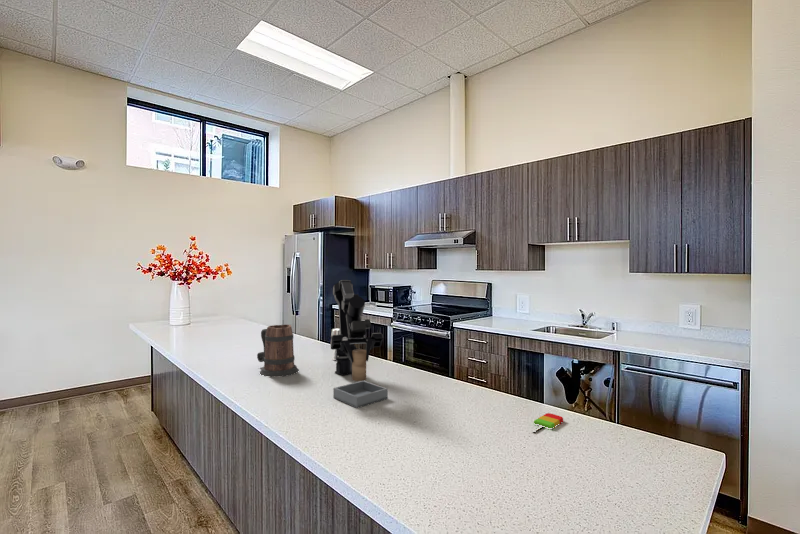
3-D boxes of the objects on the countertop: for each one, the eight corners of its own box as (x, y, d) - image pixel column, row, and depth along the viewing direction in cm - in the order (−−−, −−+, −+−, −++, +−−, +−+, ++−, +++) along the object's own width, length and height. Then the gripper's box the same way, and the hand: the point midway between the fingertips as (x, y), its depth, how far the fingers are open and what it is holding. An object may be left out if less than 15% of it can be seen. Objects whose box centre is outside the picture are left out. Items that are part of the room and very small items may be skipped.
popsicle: (564, 423, 122) (564, 416, 122) (542, 438, 111) (542, 431, 111) (547, 417, 126) (547, 412, 126) (523, 432, 115) (523, 425, 115)
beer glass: (346, 358, 201) (347, 328, 201) (343, 361, 194) (343, 330, 194) (333, 357, 202) (333, 327, 202) (329, 361, 195) (329, 330, 195)
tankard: (307, 370, 178) (307, 325, 177) (274, 379, 164) (274, 330, 164) (274, 362, 192) (274, 320, 192) (242, 369, 178) (242, 325, 178)
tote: (363, 389, 151) (363, 380, 151) (387, 398, 142) (387, 388, 142) (333, 397, 142) (333, 388, 142) (357, 408, 132) (357, 397, 132)
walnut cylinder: (355, 376, 145) (355, 348, 145) (368, 377, 143) (368, 349, 143) (349, 380, 140) (349, 351, 140) (363, 381, 138) (363, 352, 138)
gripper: (331, 312, 142) (335, 350, 132) (382, 310, 148) (390, 347, 137) (328, 330, 150) (332, 367, 140) (377, 328, 155) (384, 364, 145)
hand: (359, 361), depth 140 cm, fingers closed on walnut cylinder, 5 cm apart
